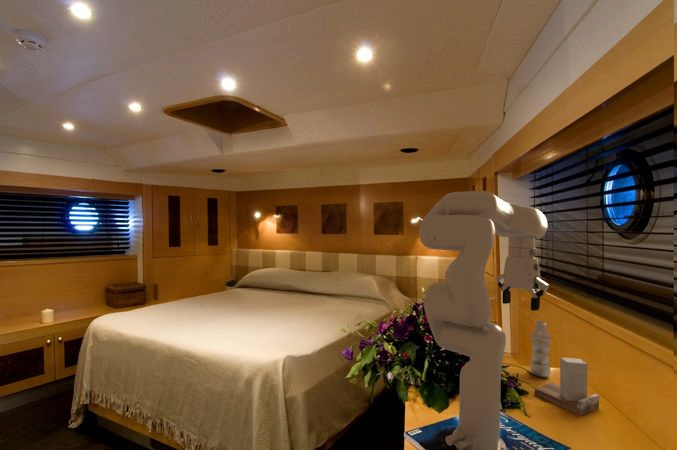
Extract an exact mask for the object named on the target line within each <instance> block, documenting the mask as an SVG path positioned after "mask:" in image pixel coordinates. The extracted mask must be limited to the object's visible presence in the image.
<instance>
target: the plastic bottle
mask: <svg viewBox="0 0 677 450" xmlns="http://www.w3.org/2000/svg"><path fill="white" fill-rule="evenodd" d="M534 327H535V328H534V329H533V331H532V332H531V334H530V337H531V338H530V339H531V344H532V345H531V346H532V355H531V356H532V357H531V362H530V365H529V367H530V372H531V373H532V372H533V373H534V374H533V373H532V374H533V375H534V376H536V377H540V378H547V377H549V376H550V375H551V366H550V358H549V357H550V345H551V339H552V338H551V337H552V336H551V334H550V333H549V331H548V330H547V328H548V323H547V322H545V321H543V320H541V321H540V320H537V321H535V325H534Z"/></svg>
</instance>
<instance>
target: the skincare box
mask: <svg viewBox="0 0 677 450" xmlns="http://www.w3.org/2000/svg"><path fill="white" fill-rule="evenodd" d="M559 362H560V364H559V366H560V367H559V369H560V371H559V374H560V375H559V383H560V384H559V385H560V395H561V396H562V397H563V398H565V399H566V400H567V401H578V400H581V399H583V398H586V397H588V363H587V362H586V361H584V360H582V359H581V358H572V357H560V359H559Z"/></svg>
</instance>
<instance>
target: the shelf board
mask: <svg viewBox="0 0 677 450" xmlns="http://www.w3.org/2000/svg"><path fill="white" fill-rule="evenodd" d="M534 395H535V396H538V397H539V398H541V397H542V398H541V399H543V398H544V399H543V400H546V401H547V402H550V403H552V404H554V405H556V406H559V407H561V408H563V409H565V410H568V411H570V412H572V413H574V414H576V415H579V416H580V417H581V416H584V415H586V414H588V413H591V412H593V411H595V410H599V408H600V394H597V393H594V394H591V395H589V396H588V395H587V397H586V398H583V399H581V400H578V401H567V400H566V399H565V398H563V397H562V396H561V395H560V384H557V383H555V382H550V383H547V384H544V385H541V386H537V387H535V388H534Z"/></svg>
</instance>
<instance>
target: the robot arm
mask: <svg viewBox="0 0 677 450" xmlns="http://www.w3.org/2000/svg"><path fill="white" fill-rule="evenodd" d="M547 229H548V220H547V217H546V216H545V214H543V212H542V211H540V210H539V209H538V208H534V207H531V206H525V205H520V204H516V203H513V202H507V201H504V200H503V199H501V198H500V197H498V196H497V195H495V194H494V193H491V192H489V191H487V190H469V191H454V192H450V193H447V194H446V195H444V196H443V197H441V199H440V200H438V201H437V202H436V203H435V205H433V207H432V208H431V209H430V210H429V211H428V213H427V214H426V215H425V216H424V217H423V219H422V221H421V223H420V226H419V229H418V230H419V231H418V236H419V241H420V242H421V244H422V245H423V246H424V247H426V248H427V249H431V250H437V251H440V250H441V251H448V252H449V251H454V252H459V254H458V255H457V256H456V258H455V259H453V261H452V262H451V263H450V264H449V265H448V267H447V268H446V270H445V274H444V278H445V282H439V281H438V282H433V283H432V284H430V285H429V286H428V287H427V289H426V291H425V294H424V297H423V307H424V312H425V316H426V319H427V322H428V324H429V327H430V330H431V334H432V335H433V339H434V340H435V342H436V344H437V345H438V346H439V347H441V349H444V350H447V351H450V352H453V353H458V354H461V355H464V356H467V357H469V361H468V362H466V363H465V364H464V365H463V366H462V368H461V370H460V373H459V403H458V404H459V406H458V407H459V409H458V412H459V413H458V425H457V426H456V428H455V429H454V430H453V432H452V434H451V435H447V436H445V444H447V445H448V446H450V447H451V446H453V445H454V446H455V447H456V449H457V450H507V446H506V443H505V441H504V440H503V439H502V438H501V437H500V436H501V435H500V432H501V430H500V429H501V391H502V390H501V385H502V382H501V381H502V366H503V360H504V353H505V350H506V346H507V345H506V343H507V337H506V333H505V331H504V329H503V328H502V327H500V325H499V324H496V323H494V322H492V321H491V319H492V305H491V301H490V297H489V293H488V292H489V291H488V288H487V284H486V283H487V282H486V279H485V271H486V267H487V265H488V261H489V258H490V256H491V252H492V249H493V246H494V243H495V238H496V235H497V236H498V237H500V238H501V237H502V238H508V243H507V244H508V245H507V246H508V248H507V249H508V251H507V253H508V254H507V256H506V258H505V262H504V267H503V274H500V275H497V276H495V279H496V282H497V285H498V287H499V288H500V291H501V292H502V295H501V297H502V298H501V299H502V304H503V305H507V304H510V303H511V301H512V298H511V295H512V294H511V293H512V292H511V291H510V290H511V289H512V288H513V289H519V290H524V291H529V293H530V294H531V296H532V297H530V310H531V311H534V312H535V311H540V310H539V309H540V307H541V298H542V297H543V295H545V294H546V293H547V291H548V289H549V287H550V284H548V283H547V282H545V281H544V280H542V279H541V270H540V264H539V263H540V262H539V259H538V258H536V256H538V255H539V251H538V250H536V239H540V238H542V237H544V236H545V235H546V233H547V231H548V230H547Z"/></svg>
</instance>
